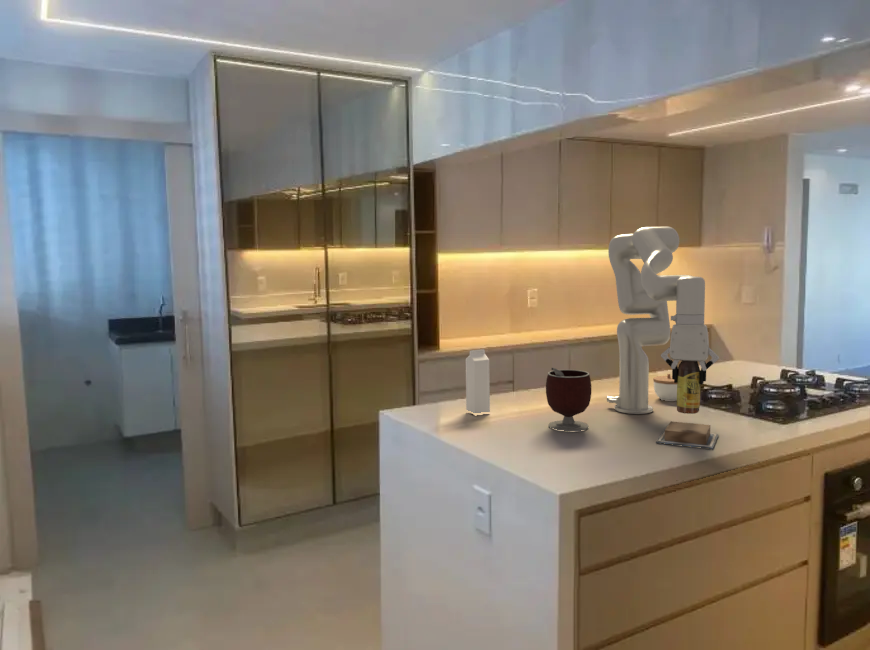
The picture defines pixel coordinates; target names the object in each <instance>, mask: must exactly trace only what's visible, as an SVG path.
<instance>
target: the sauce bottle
mask: <svg viewBox="0 0 870 650" xmlns="http://www.w3.org/2000/svg"><path fill="white" fill-rule="evenodd" d="M700 370H701V368H700V364H699V361H681V360H680V362H679V363H678V377H677V400H676V411H677V412H678V413H681V414H687V415H688V414H690V415H691V414H692V415H693V414H698V413H699V411H700V407H701V384H700Z"/></svg>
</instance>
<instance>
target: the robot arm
mask: <svg viewBox="0 0 870 650" xmlns="http://www.w3.org/2000/svg"><path fill="white" fill-rule="evenodd" d="M610 239H611V240H610V241H609V244H608V259H609V263H610V265H611V268H612V271H613V274H614V277H615V285H616V296H617V304H618V307H619V311H620V313H622V314H624V315H630V316H631V315H633V316H634V315H635V316H636V315H649V317H630V318H624V319H623V320H621V321H620V322H619V323H618V324H617V326H616V336H617V342H618V343H617V344H618V350H619V351H618V352H619V374H618V375H619V379H618V380H619V382H618V383H619V388H618V390H619V391H618V393H619V395H618V396H617V395H616V396H611V395H607V397H606V402H608V403H609V404H615V405H614V410H615V411H617V412H619V413H621V414H622V413H623V414H629V415H630V414H631V415H644V414H650V413H652V412H653V411H654V408H653V407H654V406H652V405H649V379H650V378H649V377H650V376H649V373H650V370H649V368H650V366H649V363H650V361H649V357H648V355H647V354H646V352H645V351H644V350H643V348H642V347H646V346H647V347H649V346H650V347H652V346H664V345H666V344H667V343H668V342H669V341H670V342H669V343H670V344H669V347H668V348H667V349H665V350H664V351H663V352H662V353H661V354H660V357H661V358H662V359H663V361H665V363H666V364H667V365H669V367H670V368H671V373H672V374H671V376H672V379H674V383H677V377H678V367H679V363H680V362H681V361H698V364H699V366H700V367H701V368H700V384H701V385H704V383H705V382H707V371H708V369H710V367H711V366H713V365H714V364H715V363H716V362H717V361H718V360H719V359H720V356H719V355H717V353H716V352H715V351H714V350H712V349H711V348H710V342H709V341H710V340H709V331H708V326H707V325H706V324H705V310H706V309H705V305H706V304H705V302H706V301H705V300H706V281H705V279H704V278H703V277H702V276H694V275H689V274H670V275H669V274H665V275H664V274H663V275H662V274H661V275H658V274H660V273H662V272H663V271H665V270H667V269H669V267H670V265H671V264H673V263H672V262H673V259H674V256H673V253H675V252H676V251H677V250H678V248H679V245H680V236H679V233H678V232H677V230H676V229H675V228H673V227H671V226H644V227H640V228H638V229H636V230H635V231H634V232H633V233H625V234H624V233H623V234H618V235H615V236H614V237H612V238H610ZM632 260H642V262H643V265H642V267H641V271H640V270H639V268H638V267H637V266H636V264H635V263H633V262H632ZM673 301H675V302H676V303H675V306H676V307H675V310H676V312H675V315H669V307H668V302H673ZM670 321H673V322H674V323H675V324H673V325H672V328H671V325H670ZM668 355H669V356H668ZM709 356H710V357H711V359H710V360H709V361H707V360H708V358H709ZM706 361H707V362H706ZM701 385H700V386H701Z"/></svg>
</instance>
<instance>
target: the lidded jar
mask: <svg viewBox="0 0 870 650" xmlns="http://www.w3.org/2000/svg"><path fill="white" fill-rule="evenodd" d="M653 389H654V390H653V391H654V393H655V395H656V396H657V397H658V398H659V400H660V399H661V401H663V400H665V402H677V383H674V379H672V375H671V373H667V375H659V376H654V377H653Z"/></svg>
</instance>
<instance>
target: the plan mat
mask: <svg viewBox="0 0 870 650" xmlns="http://www.w3.org/2000/svg"><path fill="white" fill-rule="evenodd" d="M718 438H719V433H711V424H703V423H693V422H682V421H674V420H673V421H670V422H669V423H668V425H667V426H666V428H664V429H663V431H662V432H661V434H660V435H659V437H658V438H657V439H656V441H655V444H656V443H665V444H673V445H672V446H674V445H682V446H681V447H683V446H691V447H690V448H692V447H701V448H709V449H708V450H710V449H713V450H714V448H715V446H716V443H717V441H718ZM716 440H717V441H716ZM715 442H716V443H715ZM714 445H715V446H714ZM713 447H714V448H713ZM701 448H700V449H701Z"/></svg>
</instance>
